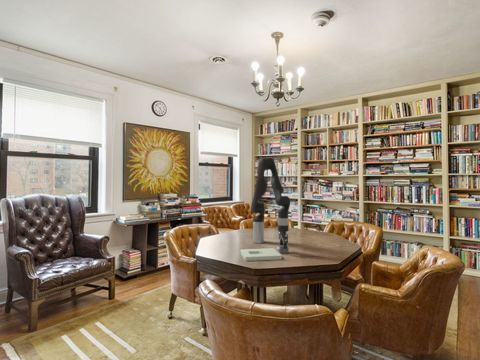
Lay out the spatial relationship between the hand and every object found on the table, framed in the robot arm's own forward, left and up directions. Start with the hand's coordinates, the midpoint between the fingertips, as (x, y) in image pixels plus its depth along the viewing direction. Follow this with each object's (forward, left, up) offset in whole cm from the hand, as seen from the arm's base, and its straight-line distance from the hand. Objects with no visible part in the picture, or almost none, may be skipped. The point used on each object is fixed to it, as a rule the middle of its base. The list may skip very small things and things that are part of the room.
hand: (283, 247), depth 197 cm
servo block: (0, 0, -4) cm, 4 cm away
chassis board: (+6, -18, -4) cm, 19 cm away
